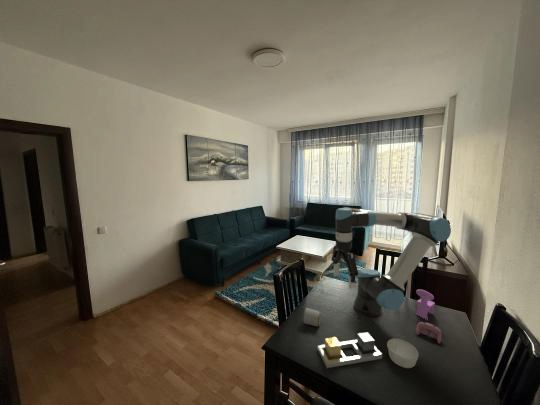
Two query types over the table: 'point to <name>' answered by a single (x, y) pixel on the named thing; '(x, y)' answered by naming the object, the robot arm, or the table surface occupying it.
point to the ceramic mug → (312, 317)
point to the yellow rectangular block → (332, 348)
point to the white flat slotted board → (349, 360)
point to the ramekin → (402, 353)
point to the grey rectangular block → (365, 343)
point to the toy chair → (424, 303)
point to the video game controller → (428, 326)
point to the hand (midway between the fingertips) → (343, 281)
